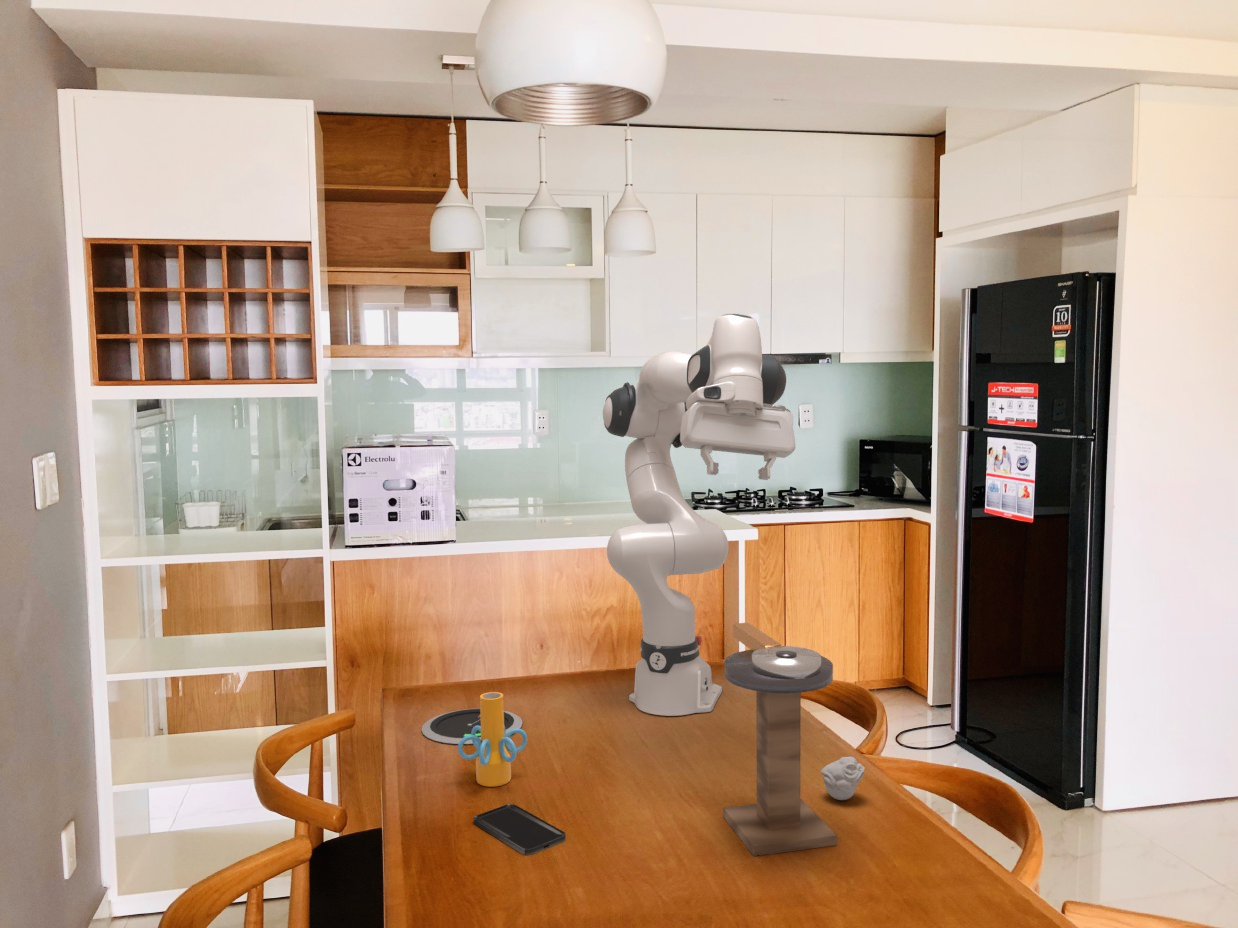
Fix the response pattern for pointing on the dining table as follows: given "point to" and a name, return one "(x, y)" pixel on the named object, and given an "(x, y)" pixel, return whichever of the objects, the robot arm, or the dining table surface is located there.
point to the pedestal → (777, 764)
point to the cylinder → (492, 743)
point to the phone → (519, 829)
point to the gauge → (461, 726)
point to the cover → (777, 655)
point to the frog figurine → (842, 777)
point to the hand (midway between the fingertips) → (738, 476)
